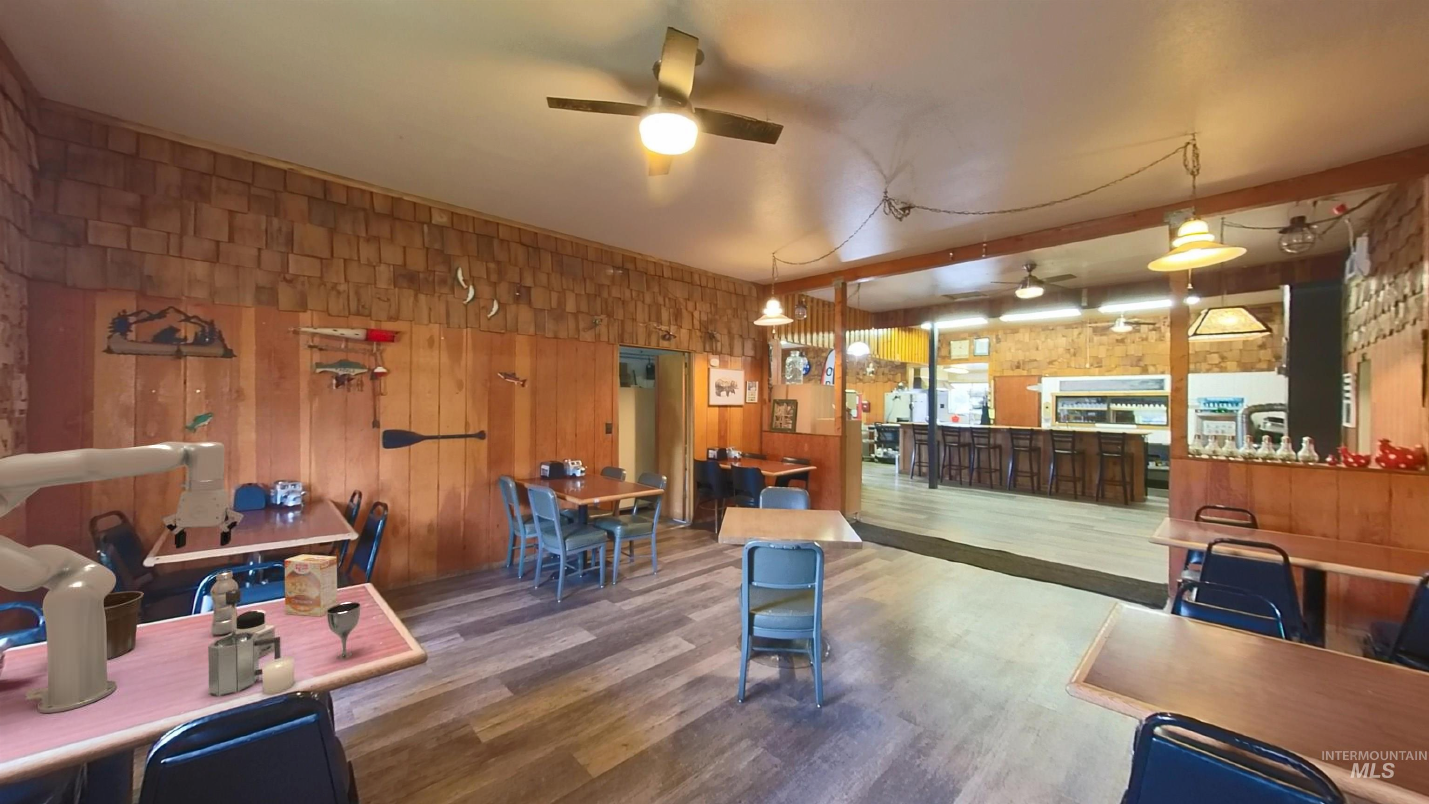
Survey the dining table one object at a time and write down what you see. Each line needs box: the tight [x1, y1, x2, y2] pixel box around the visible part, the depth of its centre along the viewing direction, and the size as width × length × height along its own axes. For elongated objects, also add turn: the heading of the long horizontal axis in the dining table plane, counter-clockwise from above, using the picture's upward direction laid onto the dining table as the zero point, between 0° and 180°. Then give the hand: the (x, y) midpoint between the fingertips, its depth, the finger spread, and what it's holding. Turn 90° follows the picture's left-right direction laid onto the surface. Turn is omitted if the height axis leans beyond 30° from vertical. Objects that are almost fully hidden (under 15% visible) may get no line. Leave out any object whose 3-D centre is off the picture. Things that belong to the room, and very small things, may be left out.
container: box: [228, 609, 276, 659], centre depth 153 cm, size 8×8×13 cm
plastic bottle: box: [209, 570, 239, 636], centre depth 167 cm, size 6×7×20 cm
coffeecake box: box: [284, 554, 338, 618], centre depth 184 cm, size 15×7×20 cm, turn 81°
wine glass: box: [326, 601, 361, 660], centre depth 151 cm, size 8×8×15 cm
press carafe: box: [207, 631, 282, 698], centre depth 137 cm, size 14×9×13 cm, turn 117°
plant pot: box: [103, 590, 144, 661], centre depth 153 cm, size 16×16×16 cm
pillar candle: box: [261, 656, 295, 695], centre depth 135 cm, size 6×6×7 cm
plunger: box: [226, 588, 242, 645], centre depth 135 cm, size 6×6×16 cm
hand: (203, 546), depth 145 cm, fingers open, 9 cm apart
